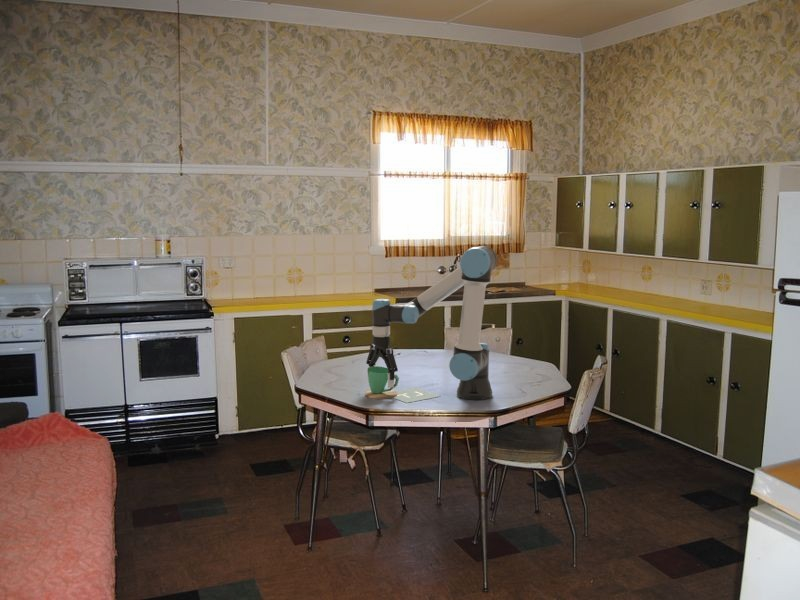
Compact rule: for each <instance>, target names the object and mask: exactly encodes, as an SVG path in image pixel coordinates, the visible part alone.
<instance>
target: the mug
mask: <svg viewBox="0 0 800 600" xmlns="http://www.w3.org/2000/svg"><path fill="white" fill-rule="evenodd" d="M366 373H367V379H368V385H369V388H370V390H371V392H372V393H376V394H380V393H382V392H387V391H391V390H394V389H395V388H396V387H397V386H398V384H399V380H400V377H399V376H398V375H397V374H395V373H394V387H391V388H386V387H387V385H388V368H387V367H384V366H376V365H375V366H373V367H369V366H368V367H367V372H366Z"/></svg>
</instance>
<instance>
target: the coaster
mask: <svg viewBox="0 0 800 600" xmlns="http://www.w3.org/2000/svg"><path fill="white" fill-rule="evenodd" d="M396 391H397V390H394V389H392V390H391V391H387V392H382V393H380V394H376V393H372V392H371V389H370V390H367V391H365V393H364V396H365V397H367V398H369V399H373V400H389V399H394V398H393V397H395V396H397V395H398V393H397V392H396Z"/></svg>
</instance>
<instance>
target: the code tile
mask: <svg viewBox="0 0 800 600" xmlns="http://www.w3.org/2000/svg"><path fill="white" fill-rule="evenodd" d="M395 391H396V392H397V393H398V395H397V396H395V397H393V398H392V399H395V400H397V401H400V402H402V401H403V403H405V404H409V403H413V402H420V401H426V400H429V399H434V398H435V399H436V398H440V397H441V395H439V394H435V393H433V392H430V391H427V390H423V389H421V388H417V387H410V388H409V387H408V388H404V389H398V390H395Z"/></svg>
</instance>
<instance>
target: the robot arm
mask: <svg viewBox="0 0 800 600" xmlns="http://www.w3.org/2000/svg"><path fill="white" fill-rule="evenodd" d="M497 264H498V257H497V254H496V251H495V250H494V249H493V248H491V247H490V246H487V245H479V246H473V247H470V248H468V249H467V250H466V251H464V252H463V254H462V255H461V257H460V261H459V266H458V267H457V268H456V269H454V270H453V271H451V272H450V273H449V274H447V275H446V276H445V277H443V278H442V279H440V280H439V281H438V282H436V283H434V284H433V285H432V286H430V287H429V288H427V289H426V290H425V291H423V292H422V293H420V294H419V295H417V296H416V297H415V298H413V299H412V300H410V301H409V302H406V303H404V304H392V303H391V300H390V299H389V298H377V299H374V300H372V308H371V311H372V344H369V345H370V347H369V353H368V356H367V358H366V362H365V364H366V365H368V368H369V367H373V366H376V363H377V361H378V360H379V359H380V358H382V360H383V361H384V363H385V366H386V368H388V380H387V389H389V388H391V387H394V384H395V378H394V374H395V373H397V372H398V371H399V370H398V365H397V362H396V358H395V355H394V349H393V348H389V345H391V323H397V324H399V323H400V324H416V323H417V321H418V319H419V318H421V317H422V315H424V314H425V313H426V312H427V311H429V310H431V309H432V308H433V307H435V306H436V305H438V304H439V303H440V302H442V301H443V300H445V299H446V298H448V297H449V296H451V295H452V294H453V293H455V292H456V291H458V290H460V289H461V288H462V287H463V296H462V305H461V306H462V307H461V315H460V324H459V332H458V340H457V342H455V344H454V345H453V353H452V354H453V355H452V357H451V359H449V360H450V361H449V365H448V366H449V367H448V368H449V372H450V373H451V374H452V375H453V377H454V378H455V379H457V380H459V383H458V387H457V389H456V396H457V397H458V398H461V399H465V400H471V401H472V400H474V401H476V400H477V401H479V400H480V401H481V400H487V399H490V398H492V397H493V388H492V387H491V383H490V379H489V371H490V369H489V368H490V364H489V363H490V360H489V359H490V347H489V344H488V343H485V342H480V341H481V332H482V324H483V315H484V307H485V306H484V305H485V298H486V297H485V296H486V288H487V285H489V284H490V283H491V277H492V271H494V269H495V268H496V266H497Z"/></svg>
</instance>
